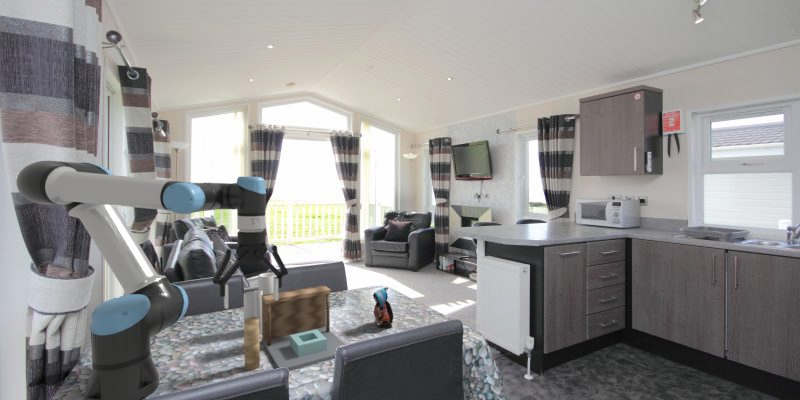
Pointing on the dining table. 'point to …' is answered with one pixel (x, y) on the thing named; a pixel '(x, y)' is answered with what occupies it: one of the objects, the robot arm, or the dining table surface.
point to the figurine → (382, 309)
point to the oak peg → (251, 343)
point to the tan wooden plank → (295, 312)
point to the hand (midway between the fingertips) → (251, 303)
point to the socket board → (291, 357)
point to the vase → (258, 297)
